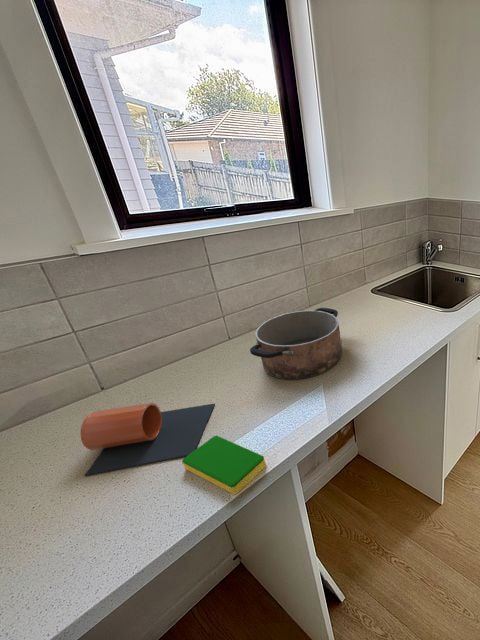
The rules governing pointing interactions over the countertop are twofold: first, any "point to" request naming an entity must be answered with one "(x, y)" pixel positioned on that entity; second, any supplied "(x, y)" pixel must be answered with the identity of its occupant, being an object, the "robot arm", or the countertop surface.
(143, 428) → the cup
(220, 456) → the dish sponge
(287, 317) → the cooking pot
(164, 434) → the mat
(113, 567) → the countertop surface
